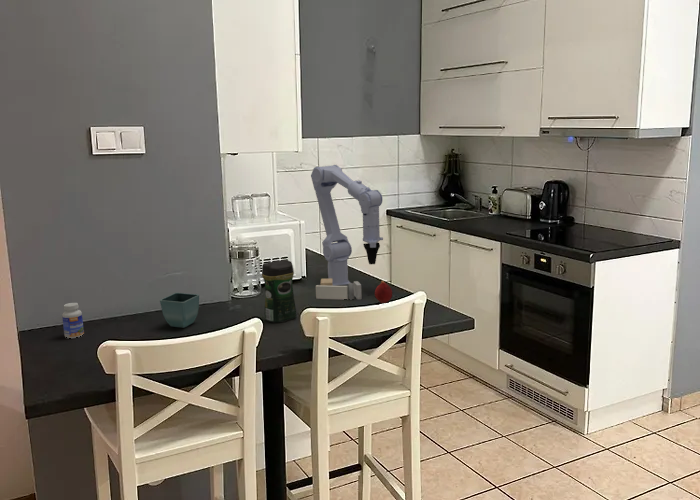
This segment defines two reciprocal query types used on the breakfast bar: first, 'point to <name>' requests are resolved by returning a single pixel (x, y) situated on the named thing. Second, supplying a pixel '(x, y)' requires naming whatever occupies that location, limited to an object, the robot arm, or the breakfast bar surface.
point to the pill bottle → (72, 321)
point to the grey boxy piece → (354, 290)
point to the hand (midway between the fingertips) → (372, 263)
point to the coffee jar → (279, 291)
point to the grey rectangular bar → (331, 292)
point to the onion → (383, 292)
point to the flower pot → (180, 309)
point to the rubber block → (327, 282)
